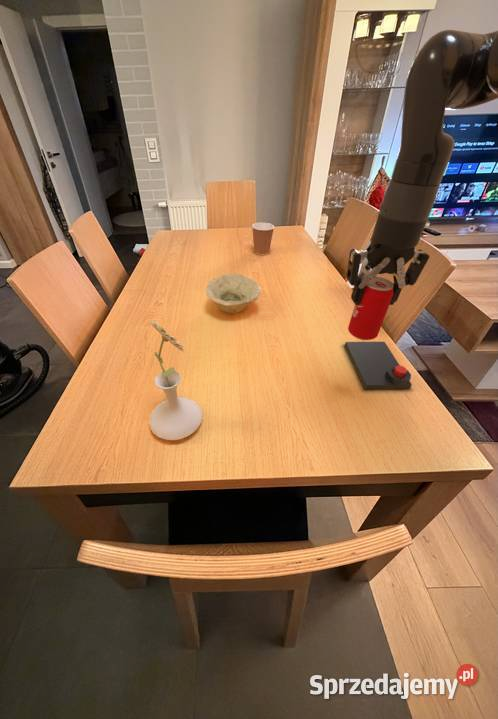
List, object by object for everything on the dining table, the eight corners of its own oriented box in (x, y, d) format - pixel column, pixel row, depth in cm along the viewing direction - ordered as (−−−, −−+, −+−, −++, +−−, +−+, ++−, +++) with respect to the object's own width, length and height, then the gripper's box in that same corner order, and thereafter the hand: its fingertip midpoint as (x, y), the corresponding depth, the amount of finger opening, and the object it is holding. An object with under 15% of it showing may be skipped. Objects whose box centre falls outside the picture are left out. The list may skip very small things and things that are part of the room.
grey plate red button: (410, 390, 77) (415, 380, 75) (365, 391, 77) (369, 381, 74) (382, 345, 91) (386, 336, 89) (344, 346, 90) (347, 336, 88)
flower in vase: (208, 435, 65) (199, 345, 49) (154, 451, 62) (125, 360, 45) (194, 393, 74) (183, 305, 58) (147, 405, 71) (120, 315, 54)
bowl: (243, 308, 113) (272, 295, 103) (212, 326, 101) (240, 313, 90) (226, 274, 110) (253, 257, 100) (192, 288, 98) (218, 270, 88)
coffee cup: (264, 246, 149) (265, 221, 141) (276, 253, 143) (279, 227, 135) (246, 250, 145) (247, 224, 137) (258, 257, 138) (260, 231, 130)
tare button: (406, 377, 76) (408, 372, 75) (395, 378, 76) (398, 373, 75) (401, 370, 78) (403, 365, 77) (391, 370, 78) (393, 365, 77)
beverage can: (365, 323, 68) (382, 273, 60) (382, 339, 63) (404, 288, 55) (341, 328, 66) (355, 277, 58) (357, 345, 62) (376, 292, 54)
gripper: (369, 219, 45) (343, 313, 56) (459, 220, 46) (416, 312, 57) (353, 206, 51) (332, 294, 62) (433, 207, 52) (398, 293, 63)
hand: (372, 302), depth 60 cm, fingers closed on beverage can, 6 cm apart
